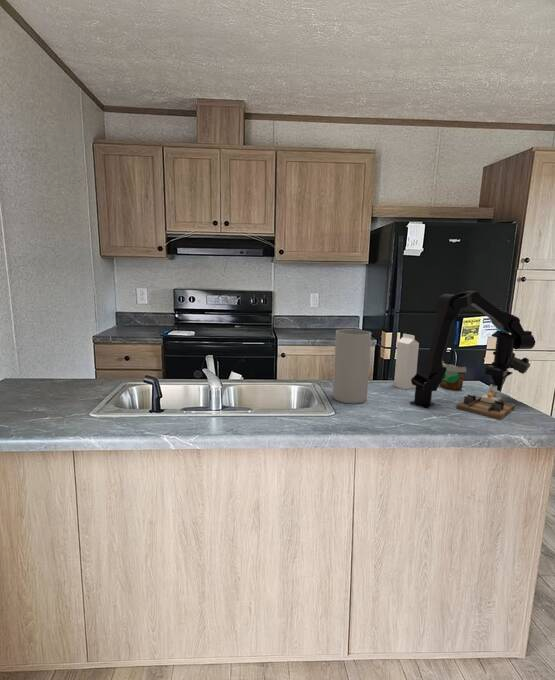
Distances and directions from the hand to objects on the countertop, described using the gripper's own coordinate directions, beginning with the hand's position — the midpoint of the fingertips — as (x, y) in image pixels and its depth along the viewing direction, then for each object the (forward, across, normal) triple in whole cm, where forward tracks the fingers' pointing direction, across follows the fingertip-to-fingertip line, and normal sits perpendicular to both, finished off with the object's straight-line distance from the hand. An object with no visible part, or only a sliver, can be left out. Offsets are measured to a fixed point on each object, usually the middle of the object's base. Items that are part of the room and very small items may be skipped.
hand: (498, 390), depth 148 cm
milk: (+4, -11, +32) cm, 34 cm away
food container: (+4, +2, +20) cm, 21 cm away
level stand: (+4, -14, 0) cm, 14 cm away
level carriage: (+2, -8, 0) cm, 9 cm away
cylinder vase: (+4, -41, +38) cm, 56 cm away
